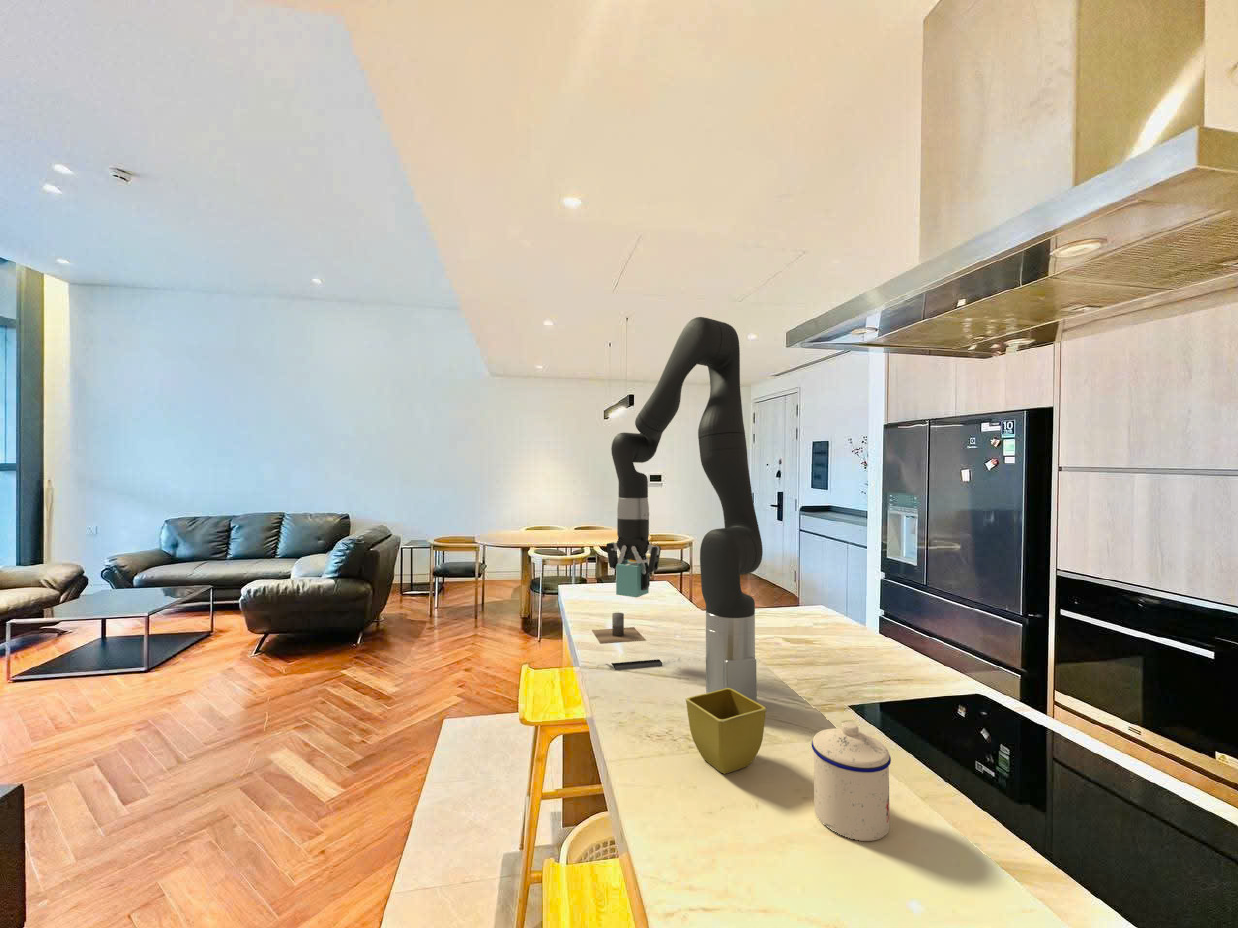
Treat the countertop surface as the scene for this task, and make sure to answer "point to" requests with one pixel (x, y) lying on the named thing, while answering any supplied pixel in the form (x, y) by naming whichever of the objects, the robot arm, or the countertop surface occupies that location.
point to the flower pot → (726, 728)
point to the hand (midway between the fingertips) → (633, 587)
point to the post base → (612, 639)
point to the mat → (637, 664)
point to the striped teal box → (629, 580)
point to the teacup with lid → (851, 782)
